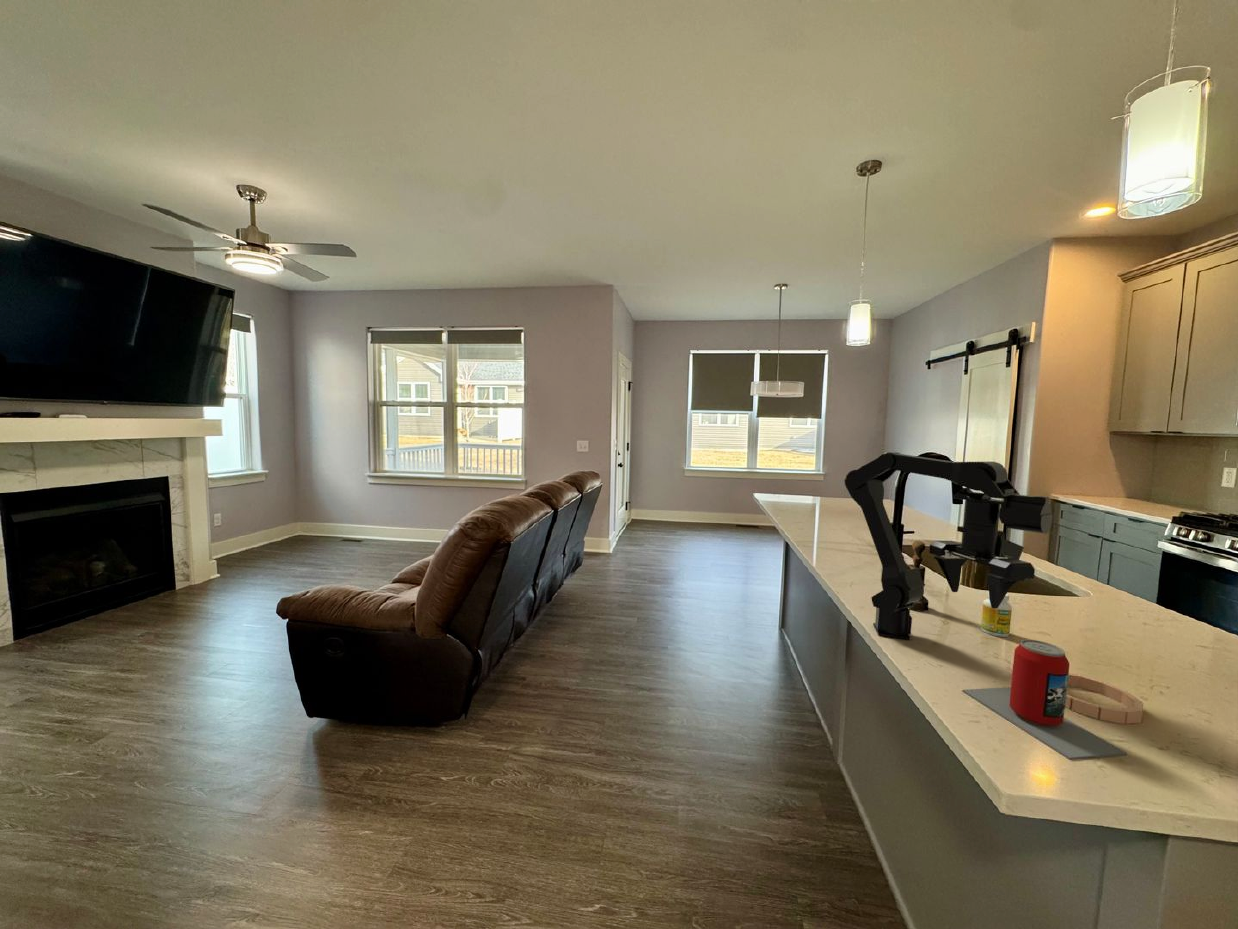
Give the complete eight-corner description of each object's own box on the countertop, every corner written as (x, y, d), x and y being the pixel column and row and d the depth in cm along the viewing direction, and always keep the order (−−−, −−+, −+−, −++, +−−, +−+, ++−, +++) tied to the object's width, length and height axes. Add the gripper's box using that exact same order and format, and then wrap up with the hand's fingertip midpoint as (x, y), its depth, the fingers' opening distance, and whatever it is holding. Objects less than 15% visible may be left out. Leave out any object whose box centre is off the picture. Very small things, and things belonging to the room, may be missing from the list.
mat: (962, 691, 87) (962, 689, 87) (1010, 688, 88) (1010, 687, 88) (1069, 759, 69) (1069, 757, 69) (1126, 754, 71) (1127, 752, 71)
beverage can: (1064, 736, 74) (1073, 661, 73) (1008, 718, 78) (1015, 647, 77) (1061, 716, 79) (1068, 646, 78) (1008, 701, 84) (1015, 634, 83)
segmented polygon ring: (1063, 713, 81) (1064, 702, 81) (1025, 676, 93) (1026, 666, 93) (1163, 730, 77) (1165, 718, 77) (1109, 689, 89) (1110, 679, 89)
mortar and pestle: (894, 602, 133) (899, 537, 131) (916, 602, 133) (921, 538, 132) (910, 611, 126) (916, 543, 125) (934, 611, 127) (939, 544, 125)
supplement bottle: (992, 627, 117) (996, 588, 116) (1015, 636, 112) (1019, 596, 111) (975, 628, 116) (978, 589, 115) (996, 638, 111) (1000, 597, 110)
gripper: (1064, 534, 89) (1055, 616, 90) (974, 515, 107) (968, 584, 108) (1011, 534, 87) (1003, 618, 88) (930, 515, 105) (924, 585, 106)
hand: (973, 599), depth 98 cm, fingers open, 9 cm apart
